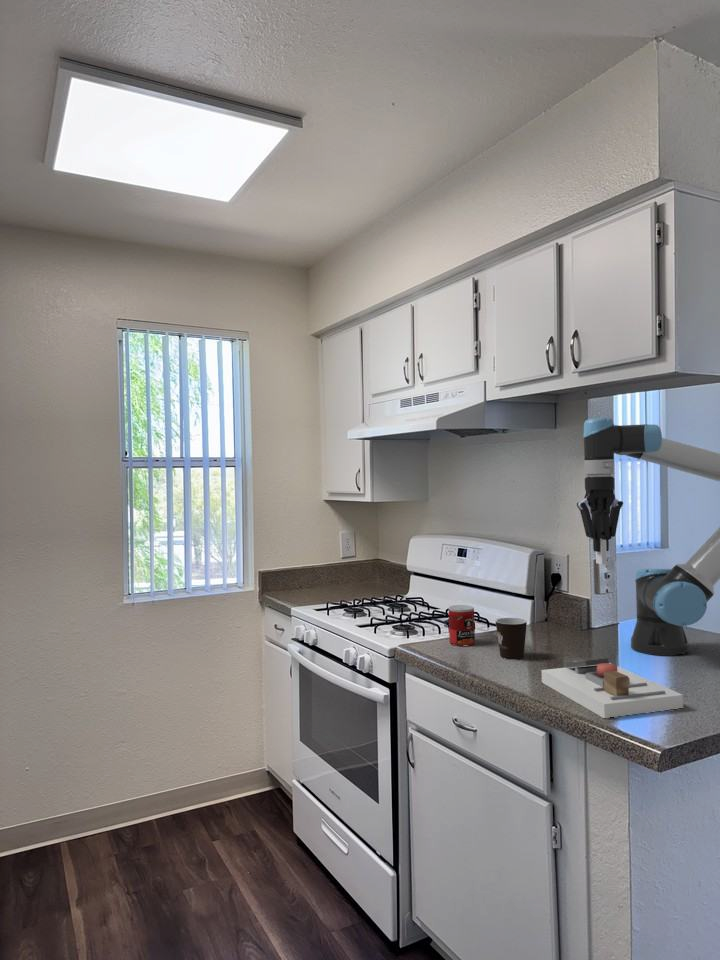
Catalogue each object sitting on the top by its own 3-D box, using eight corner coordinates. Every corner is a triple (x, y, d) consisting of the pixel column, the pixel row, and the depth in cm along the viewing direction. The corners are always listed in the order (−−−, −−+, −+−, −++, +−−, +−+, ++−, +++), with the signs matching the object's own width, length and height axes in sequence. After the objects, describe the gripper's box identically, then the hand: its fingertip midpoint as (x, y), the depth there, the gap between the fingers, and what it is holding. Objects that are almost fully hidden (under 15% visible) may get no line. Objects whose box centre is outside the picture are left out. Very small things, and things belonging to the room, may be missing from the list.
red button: (609, 671, 157) (609, 662, 157) (621, 676, 153) (621, 667, 153) (593, 672, 156) (593, 664, 156) (604, 678, 152) (604, 669, 152)
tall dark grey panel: (588, 665, 167) (587, 660, 167) (608, 663, 159) (607, 657, 159) (566, 667, 166) (565, 662, 166) (586, 665, 157) (585, 660, 158)
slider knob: (616, 689, 148) (615, 670, 148) (628, 695, 144) (628, 676, 144) (604, 690, 148) (603, 672, 148) (616, 696, 143) (616, 677, 143)
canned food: (458, 647, 199) (457, 610, 199) (444, 642, 207) (443, 606, 207) (480, 644, 203) (479, 608, 202) (465, 639, 210) (464, 603, 210)
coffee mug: (528, 661, 184) (527, 624, 183) (496, 660, 185) (495, 623, 185) (526, 650, 195) (525, 615, 195) (496, 649, 197) (495, 615, 197)
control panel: (610, 674, 169) (609, 657, 169) (683, 708, 144) (682, 688, 144) (541, 682, 165) (541, 664, 165) (604, 718, 139) (604, 697, 139)
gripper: (585, 476, 176) (587, 566, 176) (629, 475, 179) (631, 563, 179) (570, 476, 183) (572, 563, 183) (612, 475, 186) (614, 560, 186)
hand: (601, 563), depth 181 cm, fingers closed
